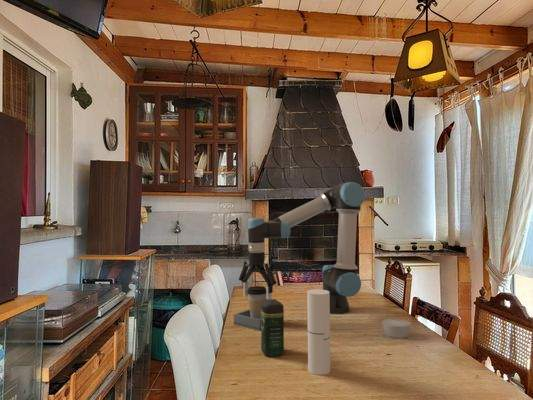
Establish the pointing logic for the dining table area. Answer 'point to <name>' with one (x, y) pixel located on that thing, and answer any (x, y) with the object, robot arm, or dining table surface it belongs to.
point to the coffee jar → (272, 327)
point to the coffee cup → (256, 300)
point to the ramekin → (396, 328)
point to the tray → (247, 320)
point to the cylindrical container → (318, 331)
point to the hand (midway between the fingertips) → (257, 298)
